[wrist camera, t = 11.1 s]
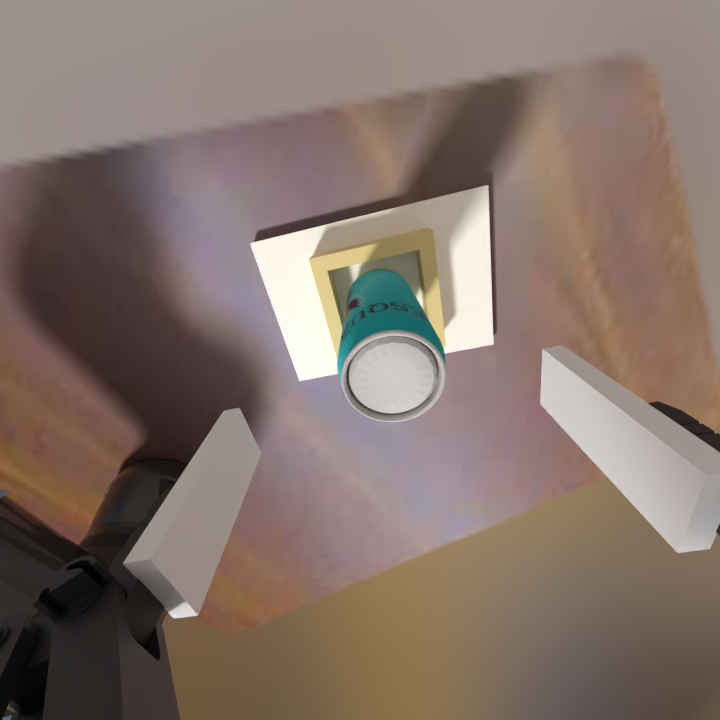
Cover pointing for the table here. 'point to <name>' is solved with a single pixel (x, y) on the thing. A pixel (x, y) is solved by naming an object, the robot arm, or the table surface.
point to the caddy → (383, 251)
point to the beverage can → (389, 350)
